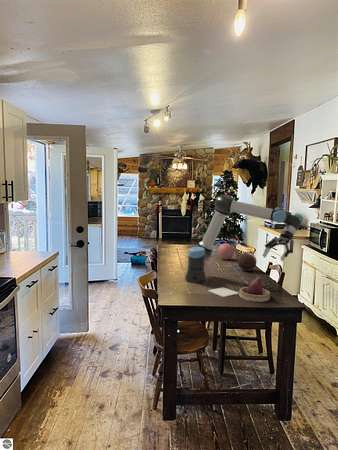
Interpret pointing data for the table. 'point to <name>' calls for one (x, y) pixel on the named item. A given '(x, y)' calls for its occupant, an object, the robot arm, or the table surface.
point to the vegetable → (255, 287)
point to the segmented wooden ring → (254, 297)
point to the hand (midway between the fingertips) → (272, 258)
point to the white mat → (223, 292)
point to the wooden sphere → (247, 261)
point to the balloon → (226, 251)
